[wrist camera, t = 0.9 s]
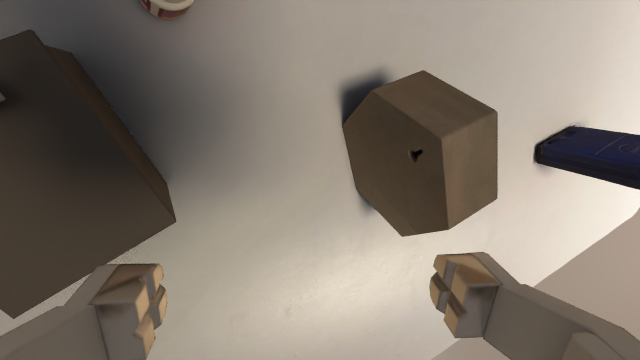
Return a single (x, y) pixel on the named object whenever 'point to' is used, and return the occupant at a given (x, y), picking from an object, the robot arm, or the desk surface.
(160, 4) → the pill bottle
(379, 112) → the brown hexagonal block
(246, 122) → the desk surface
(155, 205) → the brown box lid
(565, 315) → the robot arm
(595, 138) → the blue hard case
